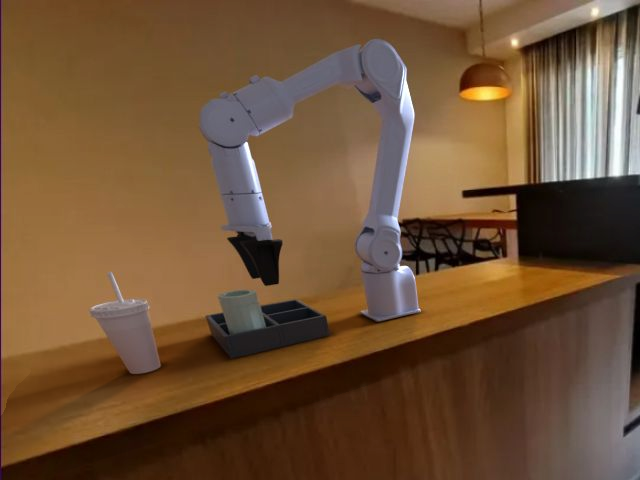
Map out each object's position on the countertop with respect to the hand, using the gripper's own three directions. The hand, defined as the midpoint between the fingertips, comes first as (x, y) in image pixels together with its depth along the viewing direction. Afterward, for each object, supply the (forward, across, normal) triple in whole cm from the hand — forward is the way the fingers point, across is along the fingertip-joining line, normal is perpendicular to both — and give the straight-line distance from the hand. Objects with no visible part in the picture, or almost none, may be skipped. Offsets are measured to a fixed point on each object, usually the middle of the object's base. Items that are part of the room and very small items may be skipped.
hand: (265, 281), depth 74 cm
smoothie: (+9, +3, -19) cm, 22 cm away
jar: (+8, +4, -5) cm, 11 cm away
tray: (+9, 0, -1) cm, 9 cm away
